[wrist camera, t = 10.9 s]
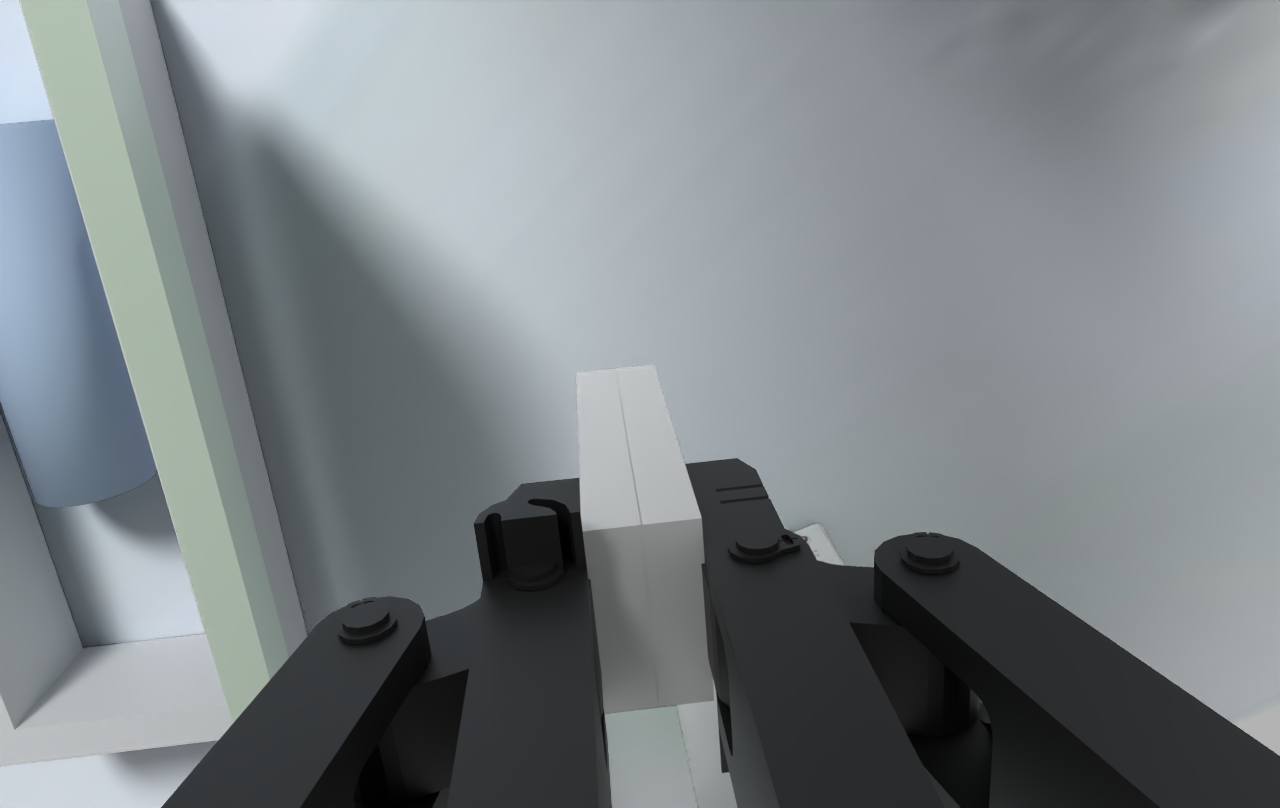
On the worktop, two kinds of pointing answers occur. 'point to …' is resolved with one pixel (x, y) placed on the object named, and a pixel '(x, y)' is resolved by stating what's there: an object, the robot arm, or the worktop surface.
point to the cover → (160, 329)
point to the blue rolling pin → (60, 335)
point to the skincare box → (703, 717)
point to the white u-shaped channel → (179, 666)
